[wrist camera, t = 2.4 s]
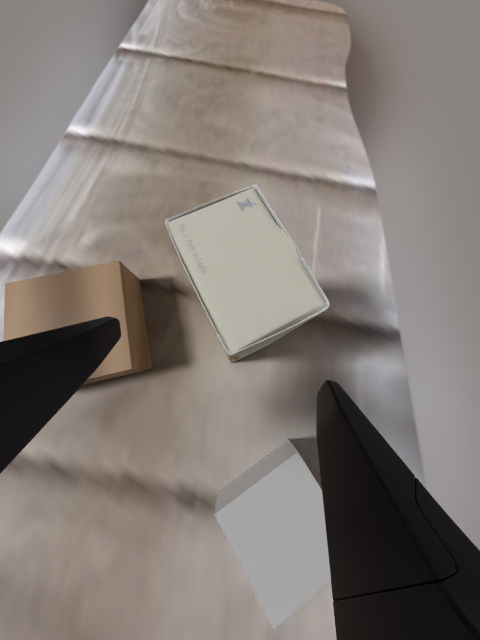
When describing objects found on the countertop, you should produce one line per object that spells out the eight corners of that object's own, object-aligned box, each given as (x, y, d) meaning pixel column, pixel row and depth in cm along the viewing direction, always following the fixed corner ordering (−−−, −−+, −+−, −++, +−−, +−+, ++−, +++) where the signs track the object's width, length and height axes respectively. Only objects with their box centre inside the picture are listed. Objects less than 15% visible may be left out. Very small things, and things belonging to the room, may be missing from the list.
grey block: (266, 580, 15) (273, 630, 12) (218, 488, 17) (214, 514, 14) (338, 519, 16) (361, 552, 13) (287, 437, 18) (297, 451, 15)
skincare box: (204, 307, 20) (155, 215, 8) (244, 288, 20) (255, 177, 9) (232, 366, 19) (223, 361, 7) (274, 344, 19) (336, 305, 7)
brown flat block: (52, 393, 18) (2, 399, 14) (50, 300, 20) (5, 283, 16) (153, 368, 19) (131, 368, 15) (141, 281, 21) (119, 260, 17)
